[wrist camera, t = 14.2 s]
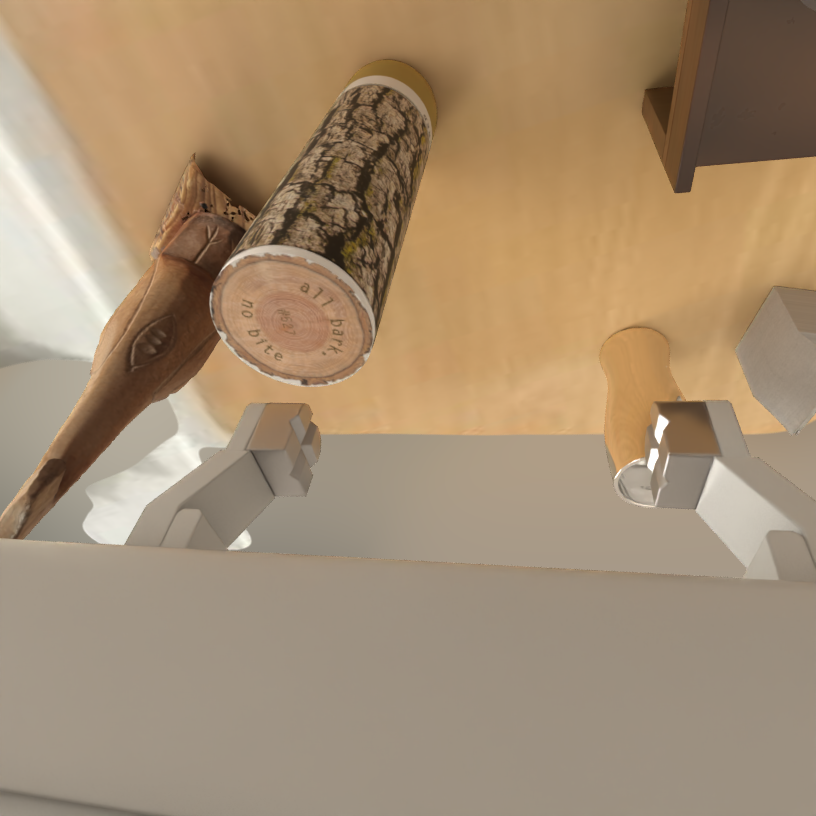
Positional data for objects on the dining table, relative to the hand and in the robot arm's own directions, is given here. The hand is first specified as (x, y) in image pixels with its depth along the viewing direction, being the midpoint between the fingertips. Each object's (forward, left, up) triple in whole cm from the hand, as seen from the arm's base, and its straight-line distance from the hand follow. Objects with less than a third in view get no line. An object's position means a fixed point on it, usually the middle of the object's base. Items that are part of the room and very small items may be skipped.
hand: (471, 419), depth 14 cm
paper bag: (+23, +22, -33) cm, 46 cm away
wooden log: (+3, -8, -33) cm, 34 cm away
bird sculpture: (+12, -24, -33) cm, 43 cm away
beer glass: (+26, +11, -33) cm, 44 cm away
